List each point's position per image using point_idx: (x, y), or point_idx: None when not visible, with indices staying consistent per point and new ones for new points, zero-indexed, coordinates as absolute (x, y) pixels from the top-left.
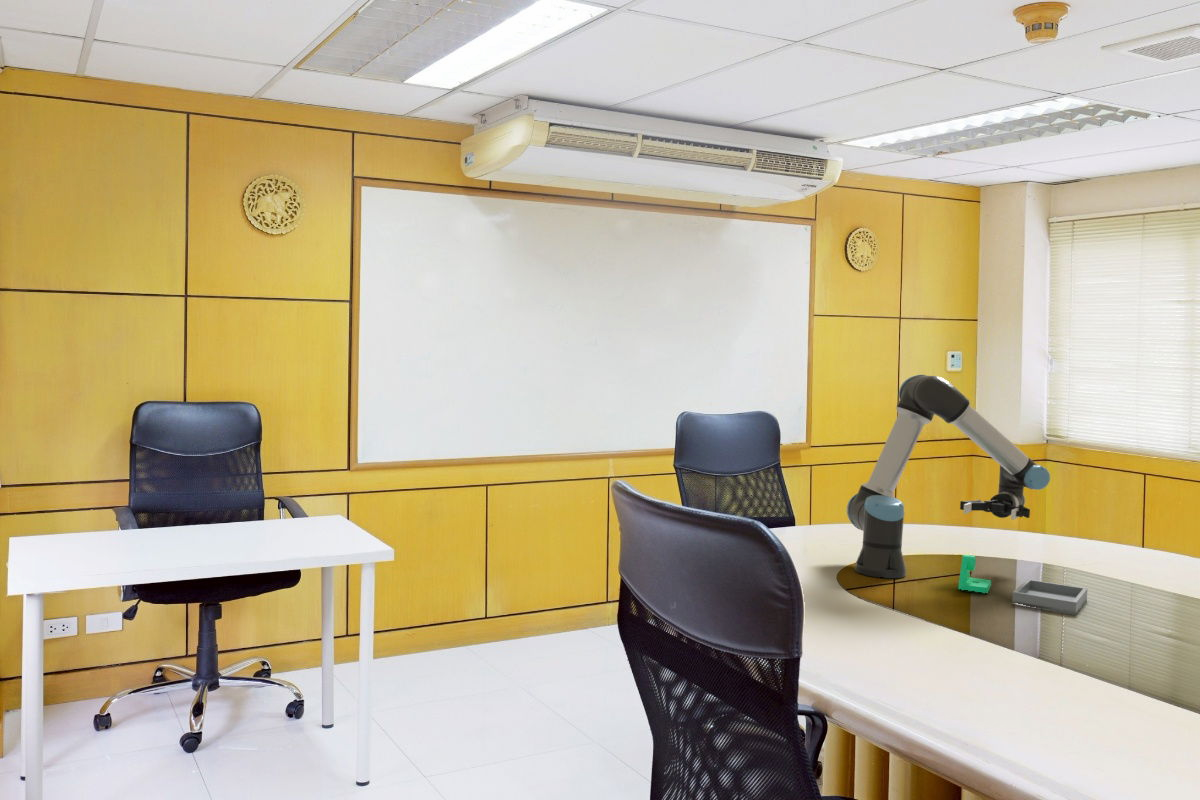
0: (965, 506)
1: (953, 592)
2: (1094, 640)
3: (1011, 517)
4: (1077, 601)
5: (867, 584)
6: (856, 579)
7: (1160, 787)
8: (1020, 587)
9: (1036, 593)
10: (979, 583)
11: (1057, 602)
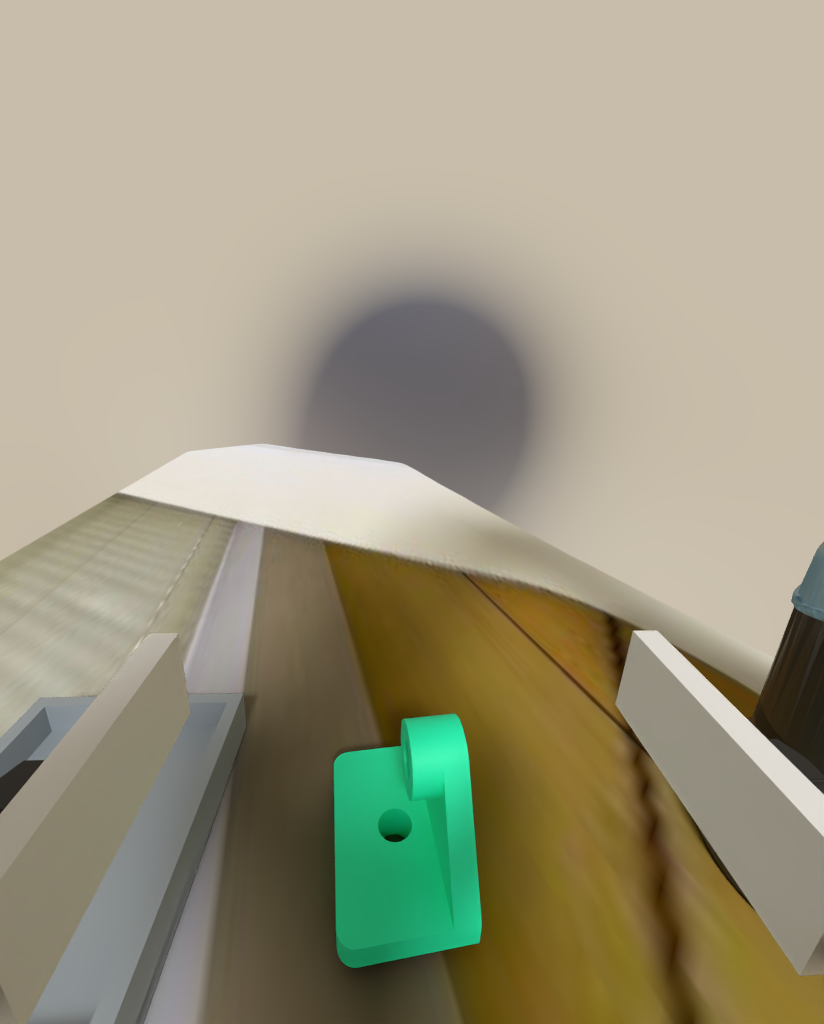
0: (638, 644)
1: None
2: (114, 589)
3: (183, 697)
4: (21, 718)
5: None
6: None
7: (203, 450)
8: (201, 779)
9: (93, 946)
10: (373, 809)
11: None
